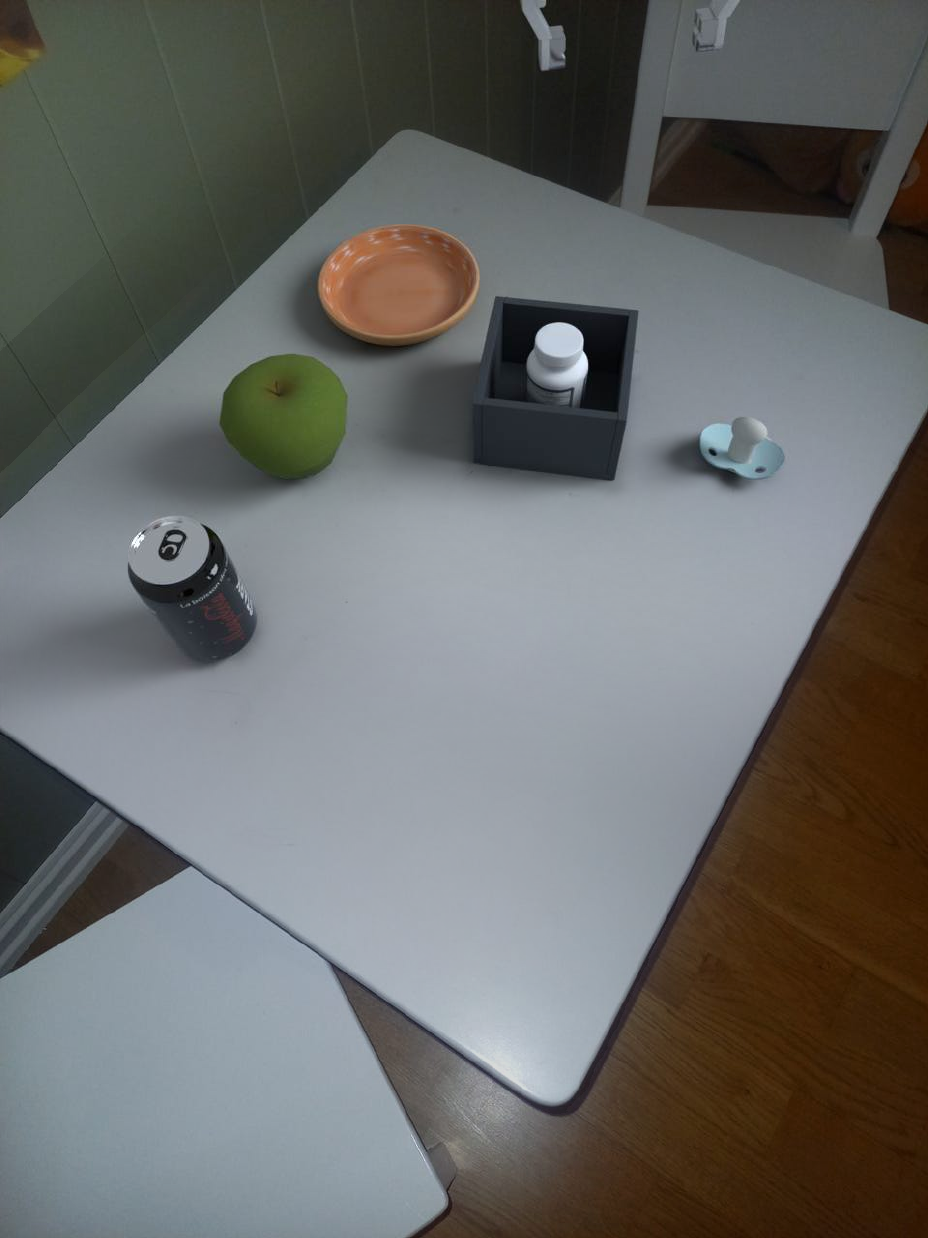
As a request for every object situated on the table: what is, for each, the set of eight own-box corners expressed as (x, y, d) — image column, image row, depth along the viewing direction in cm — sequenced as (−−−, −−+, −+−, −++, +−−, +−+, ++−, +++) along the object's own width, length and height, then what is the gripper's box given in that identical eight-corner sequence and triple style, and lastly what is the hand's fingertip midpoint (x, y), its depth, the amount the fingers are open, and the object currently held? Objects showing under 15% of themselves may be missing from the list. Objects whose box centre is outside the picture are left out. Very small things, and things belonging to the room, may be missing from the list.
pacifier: (711, 420, 78) (688, 465, 75) (729, 369, 72) (704, 415, 70) (789, 448, 76) (767, 496, 73) (813, 398, 70) (791, 447, 68)
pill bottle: (551, 381, 79) (558, 306, 71) (593, 411, 77) (605, 337, 69) (512, 413, 77) (514, 339, 70) (554, 444, 76) (561, 372, 68)
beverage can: (271, 599, 70) (232, 516, 59) (244, 674, 67) (198, 599, 56) (193, 586, 71) (141, 501, 60) (163, 659, 68) (102, 582, 57)
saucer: (336, 373, 81) (331, 349, 79) (311, 263, 89) (305, 238, 86) (497, 341, 83) (497, 317, 80) (459, 235, 90) (458, 210, 88)
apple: (332, 397, 80) (313, 314, 71) (377, 476, 75) (362, 398, 67) (224, 439, 78) (190, 359, 69) (263, 523, 73) (232, 449, 65)
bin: (626, 374, 80) (638, 309, 73) (614, 480, 75) (626, 420, 68) (494, 360, 82) (495, 295, 75) (473, 463, 76) (471, 403, 69)
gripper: (435, -221, 39) (462, 100, 50) (886, -282, 38) (810, 58, 49) (431, -252, 43) (457, 54, 54) (842, -309, 42) (781, 14, 53)
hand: (628, 56), depth 52 cm, fingers open, 8 cm apart
